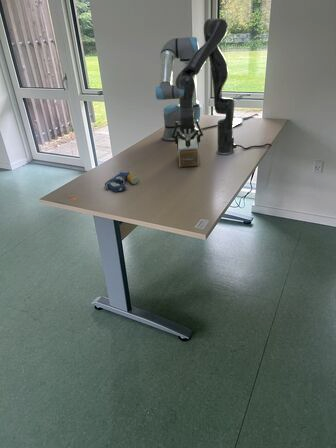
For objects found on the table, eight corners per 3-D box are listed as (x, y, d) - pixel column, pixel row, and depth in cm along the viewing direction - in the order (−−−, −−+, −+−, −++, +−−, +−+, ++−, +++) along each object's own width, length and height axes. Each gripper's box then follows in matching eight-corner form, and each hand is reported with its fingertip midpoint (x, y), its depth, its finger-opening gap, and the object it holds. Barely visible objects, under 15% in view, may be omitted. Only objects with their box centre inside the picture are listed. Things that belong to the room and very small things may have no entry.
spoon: (235, 135, 247) (235, 132, 245) (221, 135, 250) (220, 132, 249) (243, 119, 273) (243, 117, 272) (230, 119, 276) (230, 117, 275)
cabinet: (198, 165, 198) (198, 147, 193) (179, 166, 199) (178, 148, 193) (197, 154, 214) (196, 137, 208) (179, 156, 215) (178, 139, 209)
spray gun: (144, 178, 188) (122, 175, 194) (143, 171, 185) (120, 168, 192) (124, 194, 172) (101, 191, 179) (123, 187, 170) (99, 184, 176)
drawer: (198, 168, 191) (197, 153, 187) (180, 170, 192) (179, 155, 187) (196, 155, 211) (196, 141, 206) (180, 156, 211) (179, 142, 207)
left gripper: (165, 115, 193) (168, 151, 205) (207, 112, 192) (207, 148, 203) (166, 112, 200) (168, 147, 211) (206, 109, 198) (206, 144, 210)
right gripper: (174, 118, 176) (176, 149, 185) (199, 116, 175) (200, 148, 184) (174, 114, 182) (176, 145, 191) (198, 112, 181) (199, 143, 190)
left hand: (188, 148), depth 207 cm, fingers closed on cabinet, 12 cm apart
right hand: (188, 146), depth 188 cm, fingers closed
